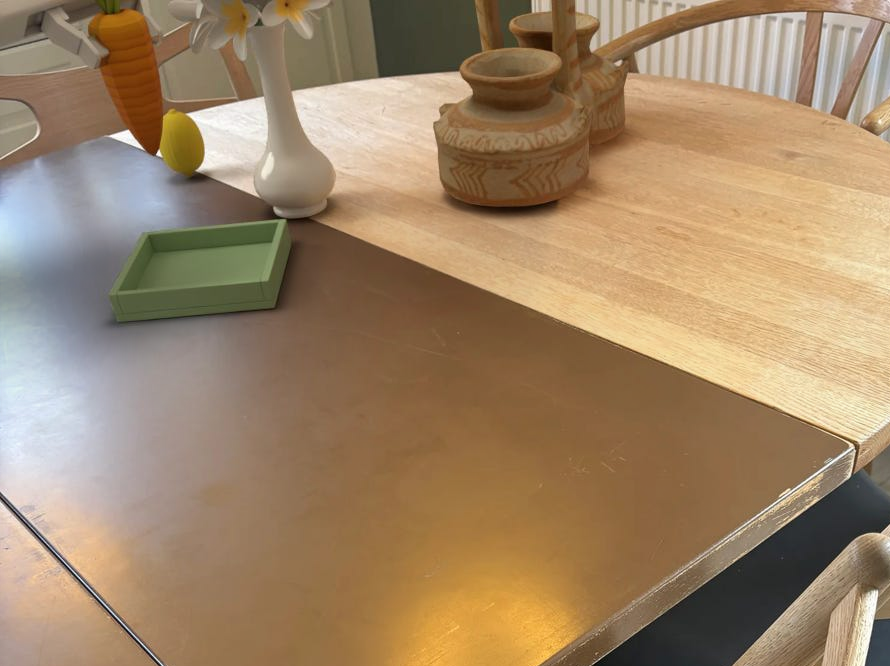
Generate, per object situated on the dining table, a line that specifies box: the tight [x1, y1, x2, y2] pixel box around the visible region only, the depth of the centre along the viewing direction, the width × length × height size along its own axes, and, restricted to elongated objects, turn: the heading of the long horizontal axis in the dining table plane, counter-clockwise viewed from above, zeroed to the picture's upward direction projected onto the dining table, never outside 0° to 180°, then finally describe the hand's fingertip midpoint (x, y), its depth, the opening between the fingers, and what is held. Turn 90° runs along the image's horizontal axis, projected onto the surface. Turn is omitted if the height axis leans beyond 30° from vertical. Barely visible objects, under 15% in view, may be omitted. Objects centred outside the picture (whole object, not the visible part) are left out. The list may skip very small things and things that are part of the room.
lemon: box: [158, 108, 206, 178], centre depth 126 cm, size 6×6×8 cm
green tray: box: [108, 218, 292, 323], centre depth 104 cm, size 16×16×3 cm
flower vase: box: [167, 0, 337, 220], centre depth 109 cm, size 13×18×25 cm
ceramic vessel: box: [432, 0, 630, 208], centre depth 114 cm, size 34×18×25 cm, turn 162°
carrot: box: [87, 0, 164, 157], centre depth 87 cm, size 5×5×15 cm
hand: (129, 52), depth 86 cm, fingers closed on carrot, 5 cm apart
